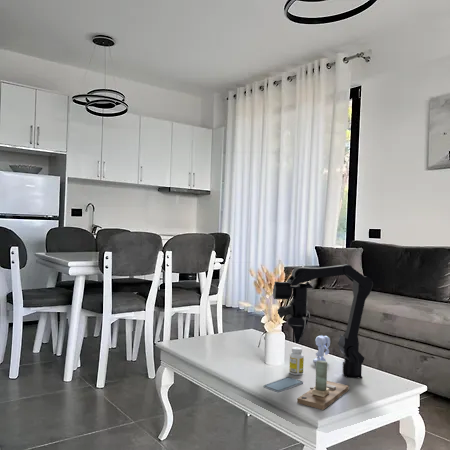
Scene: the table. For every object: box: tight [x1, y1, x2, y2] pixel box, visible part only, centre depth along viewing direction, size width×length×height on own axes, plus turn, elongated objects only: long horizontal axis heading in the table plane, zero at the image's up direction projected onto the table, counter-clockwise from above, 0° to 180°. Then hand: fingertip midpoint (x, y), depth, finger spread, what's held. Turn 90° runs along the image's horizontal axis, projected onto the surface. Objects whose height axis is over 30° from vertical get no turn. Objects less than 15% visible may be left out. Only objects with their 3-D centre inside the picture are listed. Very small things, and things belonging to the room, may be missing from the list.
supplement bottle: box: [288, 346, 305, 376], centre depth 181 cm, size 5×5×10 cm
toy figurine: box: [312, 334, 331, 363], centre depth 197 cm, size 7×6×12 cm
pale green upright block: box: [309, 360, 329, 397], centre depth 154 cm, size 5×6×10 cm
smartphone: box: [263, 376, 304, 393], centre depth 166 cm, size 7×1×15 cm
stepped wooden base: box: [296, 380, 350, 411], centre depth 156 cm, size 24×9×2 cm, turn 146°
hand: (298, 339), depth 179 cm, fingers open, 9 cm apart
